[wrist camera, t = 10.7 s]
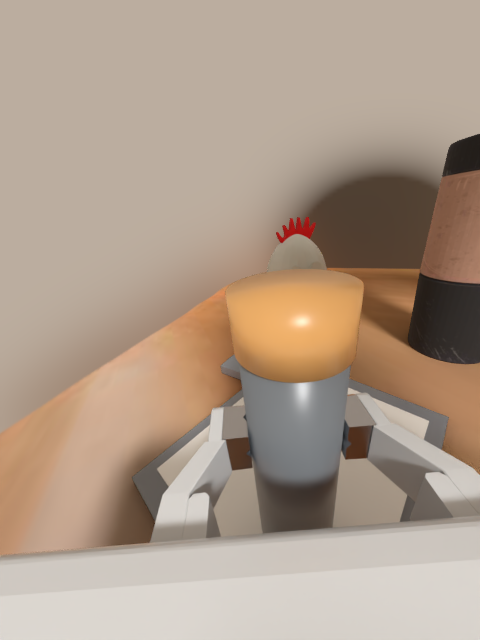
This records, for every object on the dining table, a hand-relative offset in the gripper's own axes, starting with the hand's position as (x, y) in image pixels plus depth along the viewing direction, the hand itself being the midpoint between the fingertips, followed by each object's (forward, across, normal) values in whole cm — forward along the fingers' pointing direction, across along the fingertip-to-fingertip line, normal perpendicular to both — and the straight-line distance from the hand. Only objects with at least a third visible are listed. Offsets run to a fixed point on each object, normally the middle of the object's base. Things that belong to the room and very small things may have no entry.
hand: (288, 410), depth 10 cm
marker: (-1, 0, +7) cm, 7 cm away
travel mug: (+15, -21, +9) cm, 27 cm away
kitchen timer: (+42, -10, +9) cm, 44 cm away
